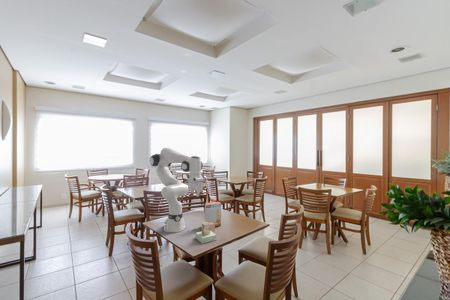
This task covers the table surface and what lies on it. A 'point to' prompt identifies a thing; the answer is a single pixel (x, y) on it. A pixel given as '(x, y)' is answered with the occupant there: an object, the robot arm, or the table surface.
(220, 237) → the table surface
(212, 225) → the terracotta block
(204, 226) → the beech block
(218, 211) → the cracker box
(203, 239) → the sage pedestal block
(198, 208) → the table surface
